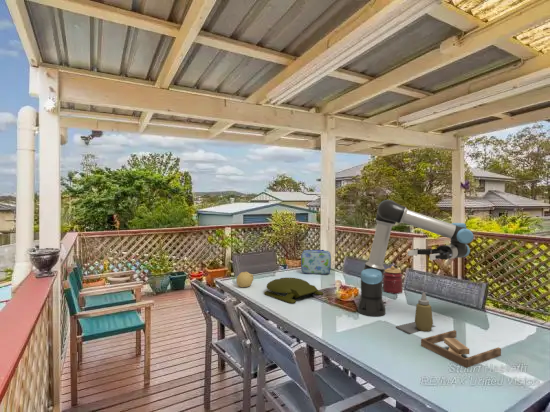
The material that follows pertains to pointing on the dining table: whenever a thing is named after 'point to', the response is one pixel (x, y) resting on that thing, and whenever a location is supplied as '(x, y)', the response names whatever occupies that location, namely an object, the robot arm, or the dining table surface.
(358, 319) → the dining table surface
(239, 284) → the tan round lump
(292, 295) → the green turtle
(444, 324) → the dining table surface
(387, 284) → the canister
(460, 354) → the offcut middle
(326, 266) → the lunch box
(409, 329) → the charcoal mat
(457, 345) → the offcut top
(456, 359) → the walnut open frame
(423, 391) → the dining table surface
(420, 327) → the squeeze bottle
